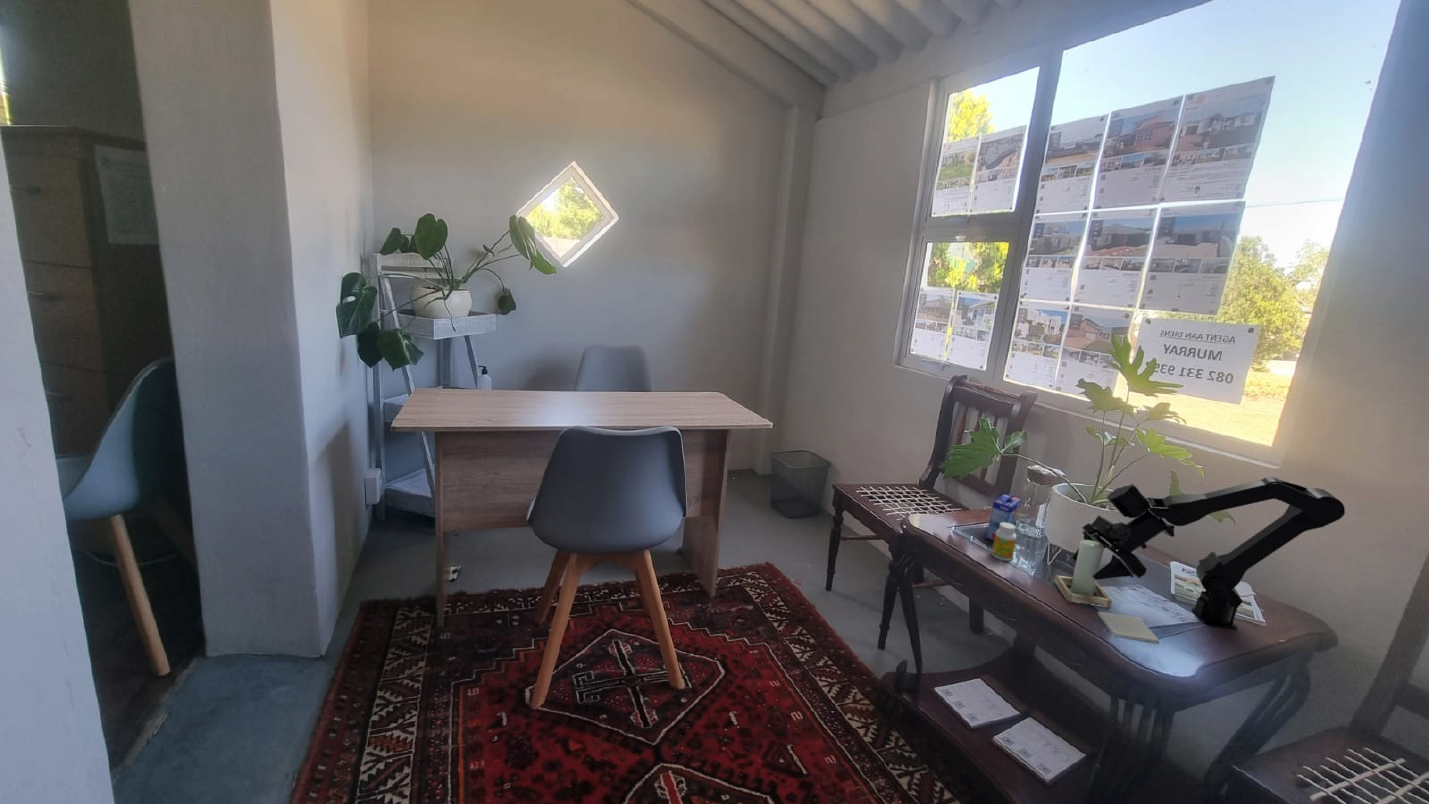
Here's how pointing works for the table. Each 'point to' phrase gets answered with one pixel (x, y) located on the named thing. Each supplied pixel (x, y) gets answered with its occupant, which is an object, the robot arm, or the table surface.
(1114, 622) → the cream square tile
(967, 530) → the table surface
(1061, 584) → the birch collar
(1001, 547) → the supplement bottle
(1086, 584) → the ceramic canister
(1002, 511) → the ink cartridge box
